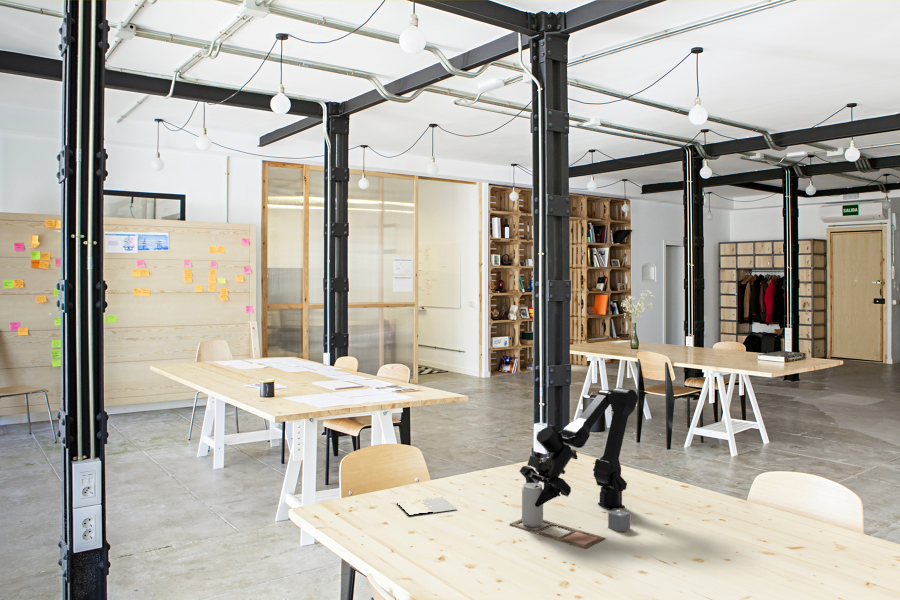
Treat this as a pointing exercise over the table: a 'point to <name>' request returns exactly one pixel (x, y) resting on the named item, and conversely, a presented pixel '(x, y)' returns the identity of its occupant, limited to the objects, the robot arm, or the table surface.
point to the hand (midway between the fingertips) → (529, 503)
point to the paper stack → (438, 504)
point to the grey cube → (619, 520)
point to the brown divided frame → (566, 535)
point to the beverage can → (531, 505)
